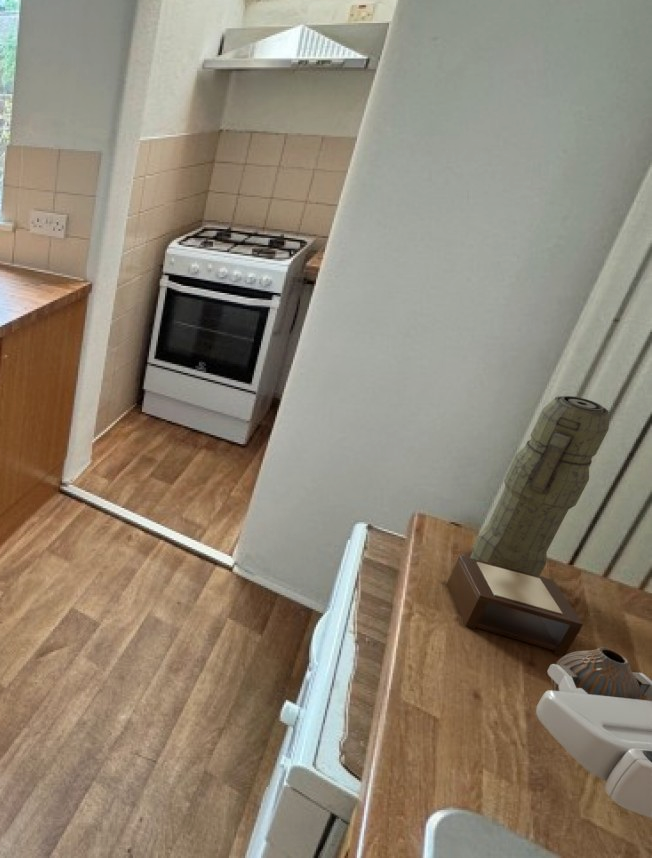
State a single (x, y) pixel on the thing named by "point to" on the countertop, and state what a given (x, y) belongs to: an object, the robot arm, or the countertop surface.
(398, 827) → the countertop surface
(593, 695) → the robot arm
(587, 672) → the vase
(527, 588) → the brown wooden box
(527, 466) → the carved stone statue
